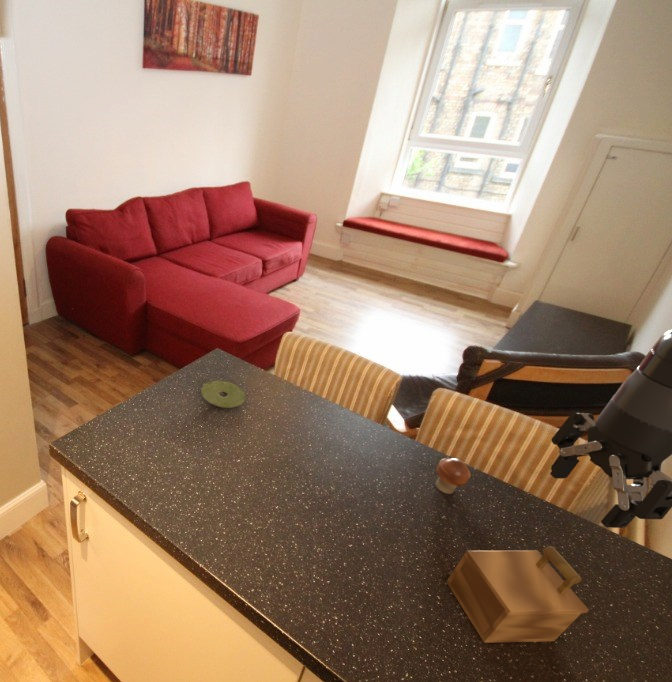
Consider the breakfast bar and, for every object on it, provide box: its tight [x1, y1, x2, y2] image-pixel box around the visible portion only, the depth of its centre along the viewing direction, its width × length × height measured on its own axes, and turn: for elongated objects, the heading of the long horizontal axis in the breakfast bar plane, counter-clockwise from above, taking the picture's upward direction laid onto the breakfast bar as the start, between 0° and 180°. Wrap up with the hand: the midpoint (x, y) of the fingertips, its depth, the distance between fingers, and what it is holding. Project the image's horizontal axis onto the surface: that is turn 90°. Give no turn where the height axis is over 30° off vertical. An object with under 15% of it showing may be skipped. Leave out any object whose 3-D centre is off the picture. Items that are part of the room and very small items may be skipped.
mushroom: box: [435, 457, 472, 495], centre depth 91 cm, size 6×6×7 cm
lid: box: [465, 545, 590, 614], centre depth 66 cm, size 12×9×5 cm
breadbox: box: [445, 553, 582, 644], centre depth 69 cm, size 11×9×8 cm
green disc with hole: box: [200, 380, 246, 409], centre depth 113 cm, size 11×11×2 cm
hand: (581, 499), depth 63 cm, fingers open, 8 cm apart
